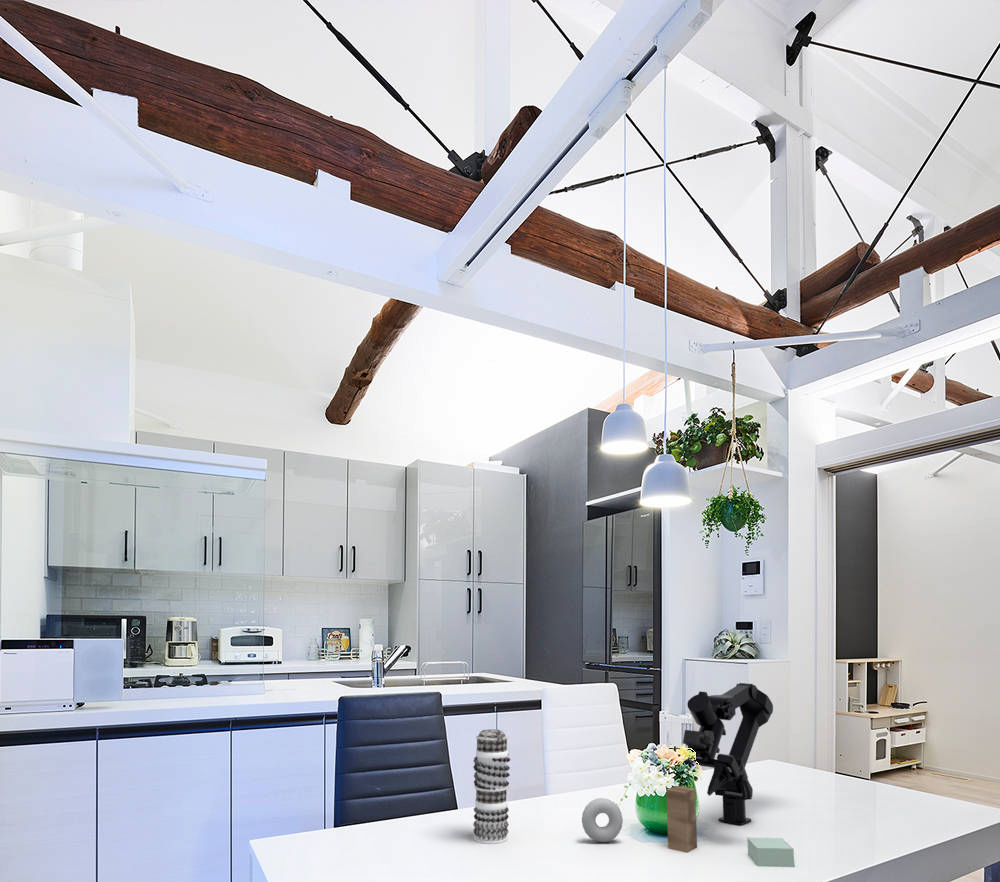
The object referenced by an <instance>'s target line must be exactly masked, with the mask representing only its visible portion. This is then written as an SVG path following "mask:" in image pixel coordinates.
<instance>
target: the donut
mask: <svg viewBox="0 0 1000 882" xmlns="http://www.w3.org/2000/svg"><path fill="white" fill-rule="evenodd" d="M600 814H605V815H607V817H608V823H607V824H606V825H604V826H600V825H598V824H597V822H596V818H597V816H599V815H600ZM623 820H624V819H623V815H622V811H621V809H620V806H618V805H617V804H616V803H615V802H614V801H612V800H611V799H609V798H604V797H600V798H594V799H592V800H591V801H589V802H588V803H587V804H586V806H585V807H584V809H583V811H582V817H581V824H582V828H583V830H584V833H585V834H586V835H587V836H588V837H589V838H590V839H592V840H593V841H595V842H598V843H608V842H610V841H612V840H614V839H616V837H618V835H619V834H620V832H621V830H622V827H623V822H624V821H623Z"/></svg>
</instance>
